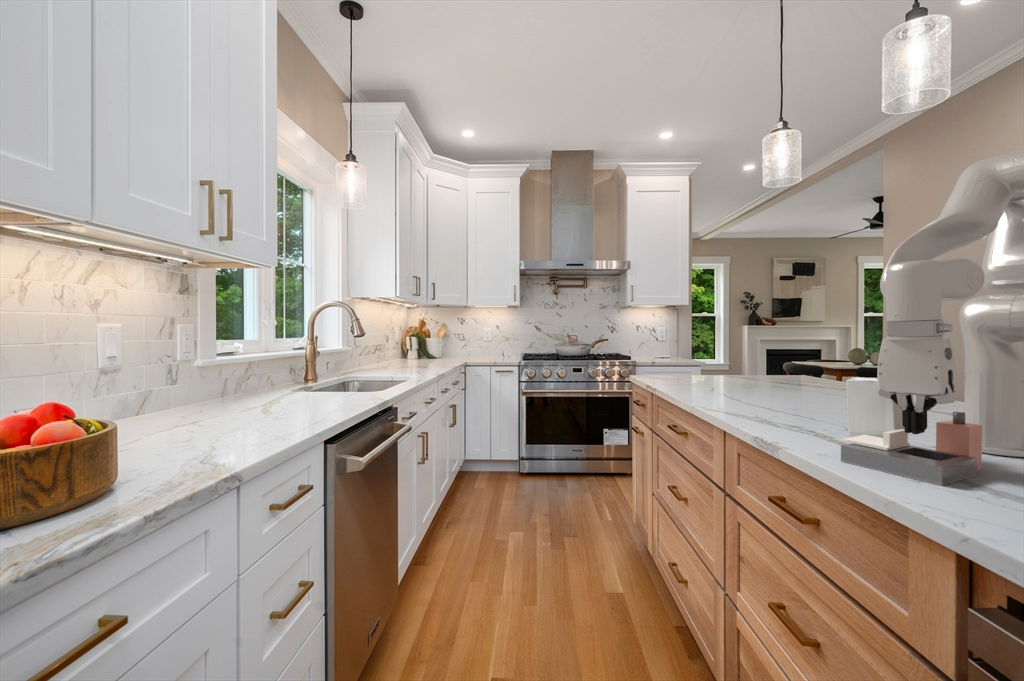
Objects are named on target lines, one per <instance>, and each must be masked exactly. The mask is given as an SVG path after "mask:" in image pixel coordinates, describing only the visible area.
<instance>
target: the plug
mask: <svg viewBox="0 0 1024 681" xmlns="http://www.w3.org/2000/svg"><path fill="white" fill-rule="evenodd" d="M935 426H936V427H935V428H936V432H935V438H936V439H935V440H936V441H935V450H938V451H943V452H948V453H954V454H959V455H964V456H969V457H975V458H977V470H979V471H982V453H983V452H982V425H981V424H973V423H966V422H965V413H964V412H963V411H952V420H950V419H948V420H943V421H937V422H936V424H935Z"/></svg>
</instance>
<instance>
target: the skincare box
mask: <svg viewBox="0 0 1024 681" xmlns="http://www.w3.org/2000/svg"><path fill="white" fill-rule="evenodd" d="M845 383H846V384H845V385H846V407H847V408H846V409H847V430H848V433H847V434H848V438H849V437H855V436H860V435H870V436H875V437H880V438H883V432H888V431H893V430H899V429H904V430H905V427H903V425H902V410H900V409H899V407H898V405H897V404H896V403H895V402H894V401H893V400H892V399H888V398H885V397H882V396H880V395H879V394H878V392H879V389H880V388H879V387H878V382H877V377H858V376H857V377H852V378H849V379H846V380H845ZM848 444H852V443H848Z"/></svg>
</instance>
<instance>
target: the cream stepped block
mask: <svg viewBox="0 0 1024 681" xmlns="http://www.w3.org/2000/svg"><path fill="white" fill-rule="evenodd" d="M908 434H909V433H905V430H904V429H899V430H893V431H888V432H883V438H880V437H875V436H870V435H860V436H855V437H849V436H848V437H843V438H841V439H842V440H841V441H842V442H844V443H847V444H849V443H853V444H858V445H863V446H868V447H873V448H878V449H882V450H892V449H896V448H901V447H906V446H910V445H911V444H910V442H909V440H908V439H909V435H908Z"/></svg>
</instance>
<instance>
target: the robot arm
mask: <svg viewBox="0 0 1024 681" xmlns="http://www.w3.org/2000/svg"><path fill="white" fill-rule="evenodd" d="M1023 200H1024V149H1020V150H1014V151H1011V152H1007V153H1004V154H1003V153H1002V154H999V155H996V156H995V155H994V156H992V157H989V158H985V159H982V160H979V161H977V162H974V163H973V164H971V165H969V166H967V168H965V169H964V170H963V171H962V172H961V174H960V175H959V177H958V179H957V181H956V183H955V185H954V187H953V189H952V191H951V192H950V194H949V197H948V199H947V200H946V203H945V205H944V207H943V208H942V210H941V212H940V215H939V216H938V217H937V218H935V219H933V220H932V221H931V222H929V223H927V224H926V225H924V226H922V227H921V228H920V229H919V230H917V231H916V232H914V233H913V234H911V235H910V236H908V238H906V239H905V240H903V241H902V242H901V243H900V244H899V245H898V246H897V247H896V248H895V249H894V250H893V252H892V253H891V255H890V256H889V259H888V261H887V262H886V265H885V266H884V268H883V271H882V274H881V276H880V280H879V281H880V283H879V288H880V292H881V294H882V296H883V297H884V298H885V312H886V313H885V314H886V315H885V317H886V320H885V321H886V322H885V323H886V325H885V326H886V332H885V333H886V338H882V341H881V345H880V348H879V354H878V361H877V371H876V373H877V375H876V376H877V377H876V378H877V382H878V387H879V388H880V389H879V392H878V394H879V395H880V396H882V397H885V398H888V399H892V400H893V401H894V402H895V403H896V404H897V405H898V407H899V409H900V410H902V425H903V427H905V433H908V434H913V435H919V434H924V433H925V431H926V430H927V429H928V411H930V410H931V409H932V408H934V407H935V406H937V405H946V404H948V405H949V404H951V403H952V404H953V403H954V402H955V400H956V399H955V396H954V393H956V391H957V388H958V381H957V380H958V379H957V378H958V377H957V370H956V363H955V362H956V361H955V356H954V350H953V348H952V343H951V340H950V338H949V337H947V338H945V337H943V336H944V335H945V333H947V332H948V333H950V332H951V333H952V332H953V330H954V326H953V324H952V323H945V320H944V319H943V302H953V301H962V300H965V299H966V300H967V299H968V300H967V301H965V302H964V303H963V304H962V305H961V307H960V309H959V313H958V320H959V326H960V330H961V334H962V335H961V336H962V339H963V347H964V397H963V398H964V402H963V403H964V405H963V406H964V409H963V410H964V413H965V422H966V423H973V424H981V425H982V453H984V454H990V455H997V456H1006V457H1015V458H1017V457H1018V458H1024V350H1023V349H1022V348H1021V347H1020V346H1019V345H1018V344H1017V343H1022V342H1024V201H1023ZM986 237H987V242H986V246H985V249H984V250H985V251H984V254H983V259H982V262H981V266H980V265H979V264H978V263H977V262H975V261H974V260H972V259H971V260H970V259H968V258H967V259H966V258H950V259H949V258H948V259H938V260H934V259H936V258H938V257H940V256H942V255H945V254H948V253H950V252H953V251H956V250H959V249H961V248H965V247H967V246H969V245H971V244H973V243H977V242H978V241H981V240H983V239H985V238H986ZM983 287H984V288H985V289H987V290H988V291H993V292H999V293H997V294H995V293H992V294H985V295H980V296H976V297H974V296H975V295H976V294H978V293H979V292H980V291H981V289H982V288H983ZM1000 292H1001V293H1000ZM1002 292H1003V293H1002ZM1004 292H1007V293H1004ZM1010 292H1012V293H1010ZM969 298H971V299H969ZM914 396H916V397H915V400H914Z"/></svg>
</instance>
